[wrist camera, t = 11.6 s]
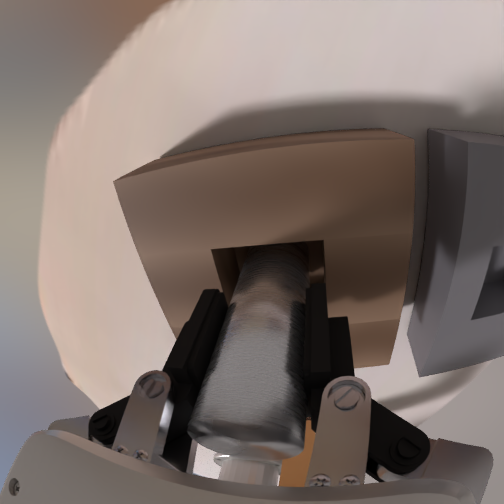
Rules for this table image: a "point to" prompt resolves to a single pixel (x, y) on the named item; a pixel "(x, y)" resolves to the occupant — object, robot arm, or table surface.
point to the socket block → (283, 222)
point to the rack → (461, 255)
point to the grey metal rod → (259, 361)
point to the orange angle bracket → (298, 462)
